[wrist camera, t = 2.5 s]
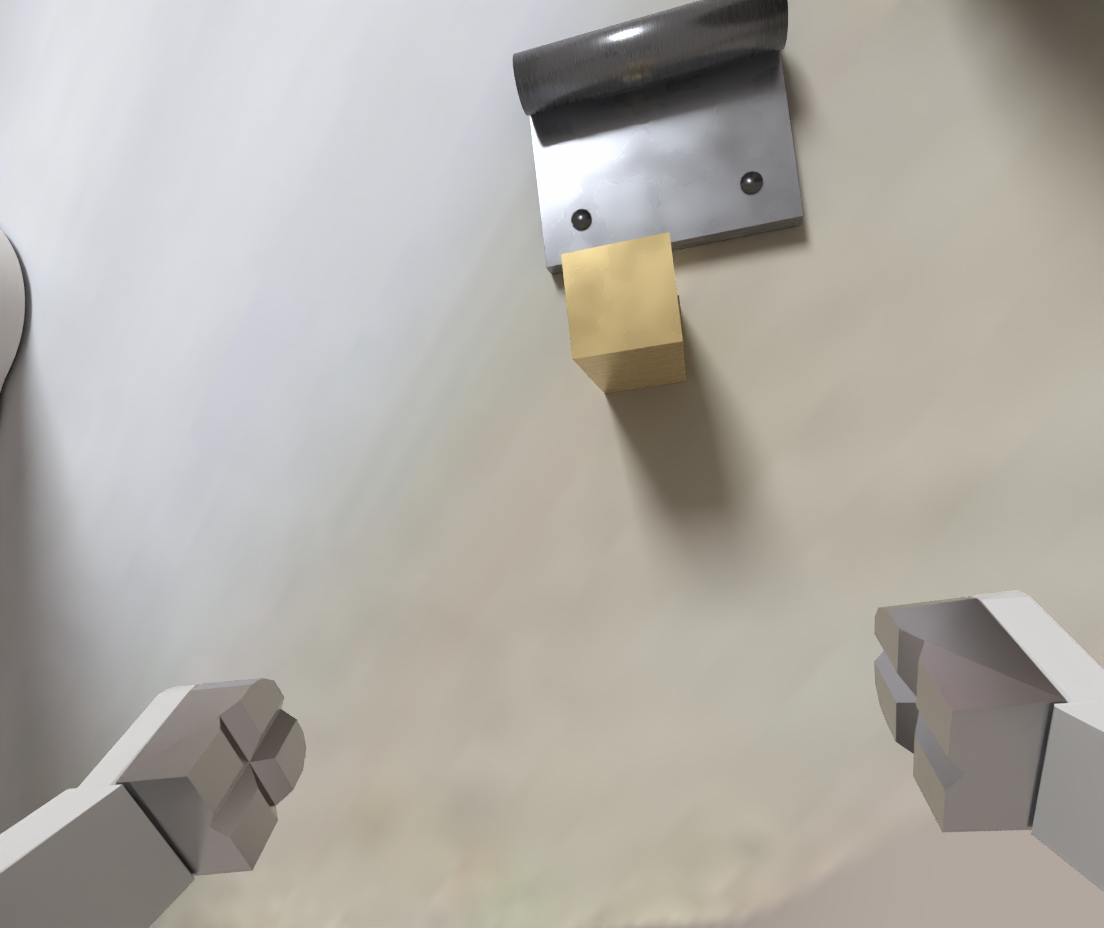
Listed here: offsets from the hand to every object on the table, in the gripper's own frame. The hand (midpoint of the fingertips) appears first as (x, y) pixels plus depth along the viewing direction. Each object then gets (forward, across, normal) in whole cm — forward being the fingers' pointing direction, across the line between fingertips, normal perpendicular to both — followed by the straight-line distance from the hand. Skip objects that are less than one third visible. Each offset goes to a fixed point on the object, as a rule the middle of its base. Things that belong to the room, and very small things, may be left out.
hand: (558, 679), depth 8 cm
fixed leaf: (+28, -4, -6) cm, 29 cm away
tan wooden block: (+23, -2, +2) cm, 24 cm away
